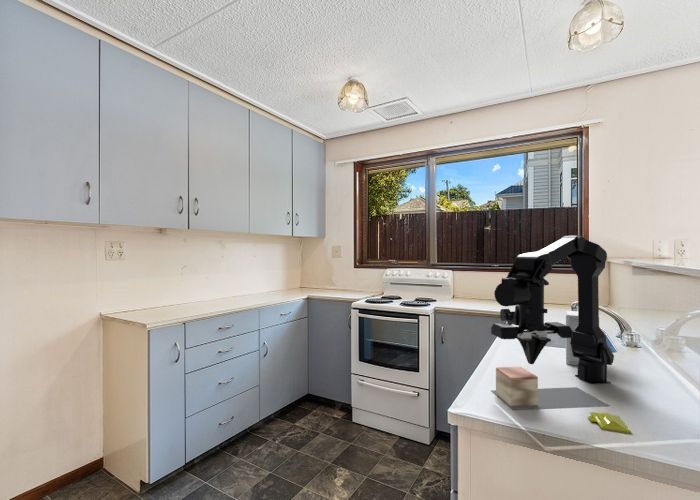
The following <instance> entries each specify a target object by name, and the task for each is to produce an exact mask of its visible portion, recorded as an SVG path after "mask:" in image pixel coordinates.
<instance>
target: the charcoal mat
mask: <svg viewBox="0 0 700 500" xmlns="http://www.w3.org/2000/svg"><path fill="white" fill-rule="evenodd" d="M490 392H491V393H492V394H493V395H495V397H497V398H498V399H499V400H500V401H502V403H504V404H505V405H507V407H509V408H510V409H511V410H512V411H526V410H527V411H529V410H531V411H532V410H549V409H550V410H551V409H573V408H574V409H575V408H578V409H579V408H596V407H597V408H599V407H611V405H609V404H608V403H606V402H604V401H603V400H601V399H598V398H597V397H595V396H593V395H591V394H590V393H588V392H586V391H585V390H582V389H580V388H579V387H577V386H575V387H574V386H573V387H571V386H570V387H552V388H550V387H548V388H538V405H525V406H510V405H509V404H507V403H506V402H505V401H504V400H503V399H502V398H500V397H499V396H498V395H497V394H496V389H495V390H490Z"/></svg>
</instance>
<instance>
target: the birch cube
mask: <svg viewBox="0 0 700 500" xmlns="http://www.w3.org/2000/svg"><path fill="white" fill-rule="evenodd" d="M538 381H539V377H538V376H537V375H536V374H533V373H532V372H531V371H530V370H527V369H526V368H524V367H522V366H504V367H503V366H502V367H501V366H500V367H495V390H496V394H497V395H498V396H499V397H500V398H502V399H503V400H504V401H505V402H506V403H507V404H509V405H510V406H525V405H538V389H539V387H538V386H539V384H538V383H539V382H538Z"/></svg>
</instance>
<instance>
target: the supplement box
mask: <svg viewBox="0 0 700 500" xmlns="http://www.w3.org/2000/svg"><path fill="white" fill-rule="evenodd" d="M565 325H568V326H570V328H571V329H572V331H574V330H575V329H576V328H577V326H578V310H577V311H576V310H575V311H574V310H565ZM570 343H571V338H565V362H566V365H572V366H578V364H579V358H578V357H573V353H572V348H571V344H570Z"/></svg>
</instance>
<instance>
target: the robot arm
mask: <svg viewBox="0 0 700 500" xmlns="http://www.w3.org/2000/svg"><path fill="white" fill-rule="evenodd" d="M565 258H567V259H568V260H569V261H570V268H571V269H572V270H573V272H574V274H575V275H576V277H577V311H578V326H577V328H576V329H575V330H574V331H572V329H571V328H570V326H568V325H566V323H565V324H564V323H562V322H558V321H553V322H552V321H549V322H548V321H547V322H546V321H545V314H548V308H545V286H549V285H550V283H549V281H548V280H546V279H545V277H547V275H549V273H551V271H553V265H555V264H556V263H558V262H560V261H561V260H563V259H565ZM607 259H608V253H607V251H606V250H605V249H604V248H603V247H602V246H600V245H599V244H598V243H595V242H593V241H590V240H588V239H586V238H585V237H583V236H581V235H564V236H562V237H560V238H559V239H558V240H556V241H555V242H553V243H551V244H549V245H547V246H546V247H544V248H541V249H540V250H537V251H532V252H525V253H522V254H518V255H517V256H516V257H515V260H514V262H513V264H512V265H511V268H510V270H509V271H508V274H507V276H506V277H503V278H501V282H500V283H499V284H497V286H496V287H495V290H494V291H493V292H494V299H495V301H496V303H498V304H499V305H500V306H503V307H511V306H512V307H513V306H515V308H514V311H511V309H510V308H502V309H500V312H499V314H500V315H499V317H500V318H499V319H500V321H501V322H504V323H501V322H498V323H493V324H492V326H491V328H490V333H491V335H494V336H496V337H497V338H499V339H501V340H515V339H517V340H518V341H519V343H520V345H521V348H522V350H523V353H524V356H525V359H526V361H527V363H528V364H529V365H534V364H535V363H536V360H537V359H538V357H539V356H540V354H541V352H542V351H543V349H544V348H545V347H546V345H547V344H548V343H549V342H552V339H551V338H548V334H554V335H555V334H557V335H558V336H559V337H560V338H562V339H566V338H571V343H570V344H571V348H572V353H573V357H578V358H579V364H578V365H577V374H574V377H576V378H578V379H580V380H582V381H584V382H586V383H588V384H590V385H601V384H604V385H605V384H612V381H609V380H607V378H608V375H607V374H608V373H607V372H608V368H607V367H608V366H612V365H613V363H614V359H615V355H614V353H613V352H612V350H611V349H610V347H609V346H608V344H607V343H608V342H607V336H606V335H605V333H604V332H603V330H602V329H601V327H600V314H599V312H600V311H599V306H600V305H599V302H600V301H599V300H600V299H599V298H600V297H599V276H600V275H601V273H602V272H603V270H604V269H605V268H606V261H607ZM505 322H506V323H505Z"/></svg>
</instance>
